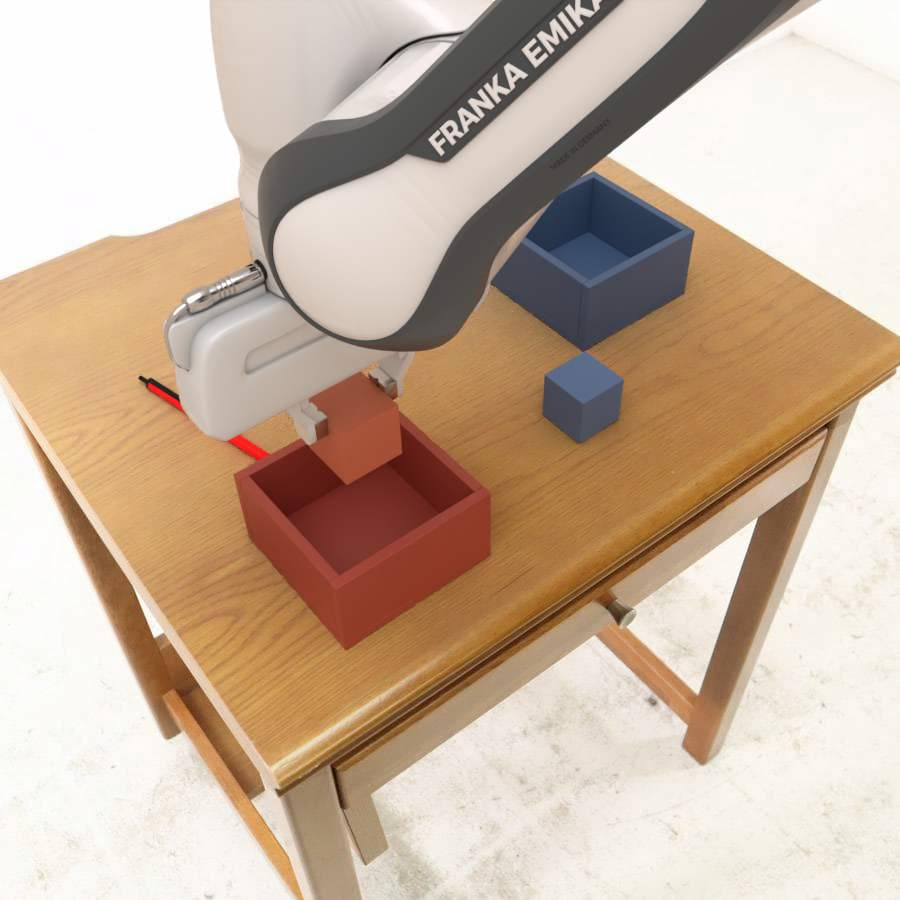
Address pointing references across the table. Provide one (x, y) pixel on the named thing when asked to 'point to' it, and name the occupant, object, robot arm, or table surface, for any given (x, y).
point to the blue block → (582, 396)
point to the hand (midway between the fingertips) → (351, 414)
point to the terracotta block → (357, 427)
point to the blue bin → (597, 261)
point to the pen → (175, 401)
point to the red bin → (366, 529)
